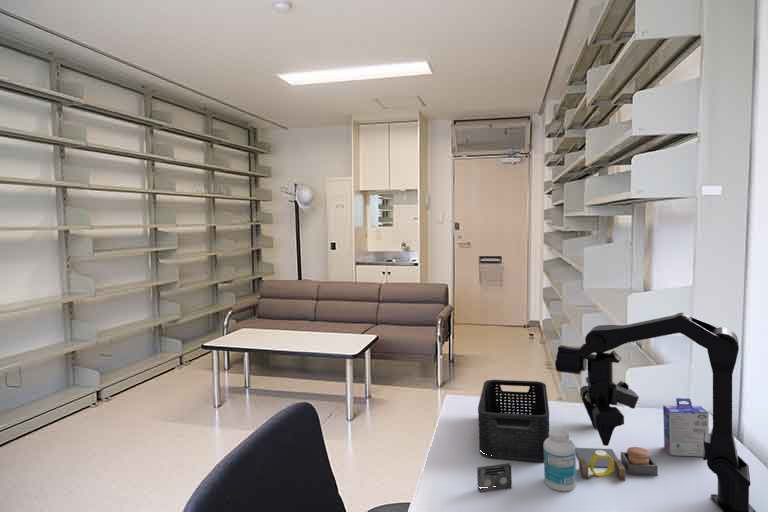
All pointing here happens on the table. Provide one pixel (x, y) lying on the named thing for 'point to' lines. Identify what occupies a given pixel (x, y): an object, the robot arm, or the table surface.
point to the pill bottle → (559, 460)
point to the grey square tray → (639, 466)
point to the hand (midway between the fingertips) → (600, 436)
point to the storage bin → (513, 421)
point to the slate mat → (600, 462)
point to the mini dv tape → (494, 477)
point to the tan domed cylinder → (638, 455)
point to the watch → (601, 455)
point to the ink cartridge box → (685, 428)
